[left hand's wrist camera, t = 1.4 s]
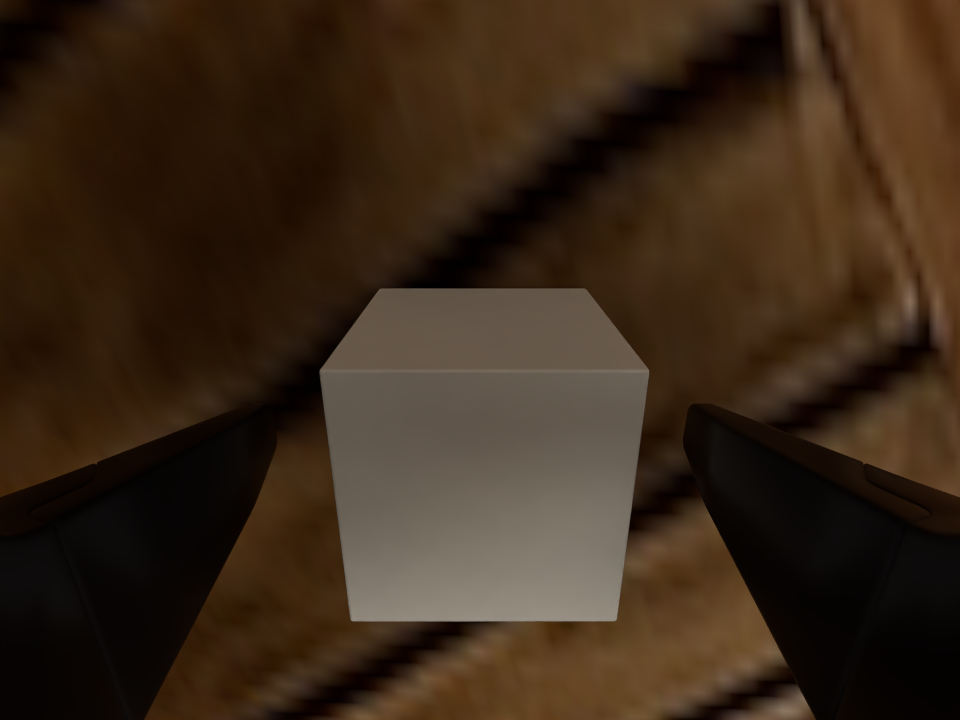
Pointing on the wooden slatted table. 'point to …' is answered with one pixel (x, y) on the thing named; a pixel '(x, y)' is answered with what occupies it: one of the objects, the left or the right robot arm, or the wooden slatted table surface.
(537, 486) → the block
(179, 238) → the wooden slatted table surface
